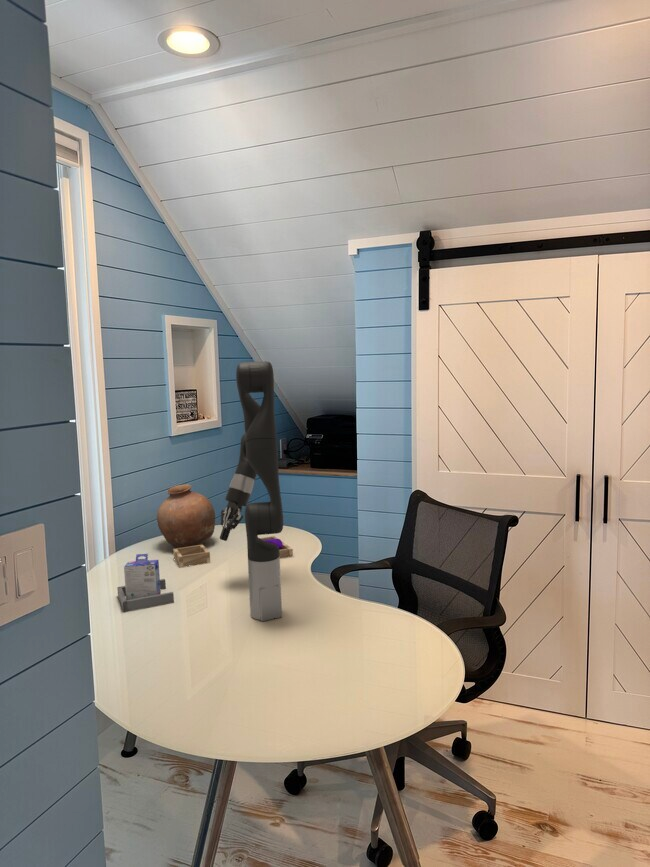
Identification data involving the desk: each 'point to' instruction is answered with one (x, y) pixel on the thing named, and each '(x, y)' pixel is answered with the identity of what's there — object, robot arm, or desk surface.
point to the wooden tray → (191, 555)
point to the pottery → (186, 517)
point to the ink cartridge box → (142, 578)
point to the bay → (144, 599)
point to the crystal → (276, 542)
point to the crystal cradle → (283, 552)
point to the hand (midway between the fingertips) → (222, 540)
